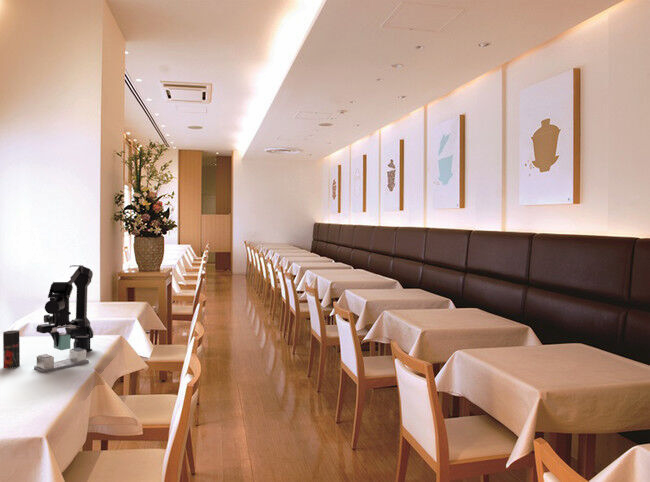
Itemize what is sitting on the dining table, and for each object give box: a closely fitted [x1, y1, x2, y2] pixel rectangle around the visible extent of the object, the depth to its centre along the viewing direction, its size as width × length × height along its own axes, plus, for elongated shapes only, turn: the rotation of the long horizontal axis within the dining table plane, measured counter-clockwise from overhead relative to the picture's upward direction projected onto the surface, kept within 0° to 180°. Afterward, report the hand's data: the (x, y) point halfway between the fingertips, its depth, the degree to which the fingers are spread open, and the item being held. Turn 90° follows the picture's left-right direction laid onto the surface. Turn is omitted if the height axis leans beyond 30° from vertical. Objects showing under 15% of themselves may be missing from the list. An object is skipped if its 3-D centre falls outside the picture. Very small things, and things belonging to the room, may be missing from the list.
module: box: [53, 331, 71, 351], centre depth 216 cm, size 4×6×6 cm, turn 54°
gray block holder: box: [33, 347, 90, 374], centre depth 216 cm, size 19×9×6 cm, turn 144°
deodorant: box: [2, 329, 21, 369], centre depth 214 cm, size 6×6×15 cm
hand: (62, 345), depth 216 cm, fingers closed on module, 4 cm apart
